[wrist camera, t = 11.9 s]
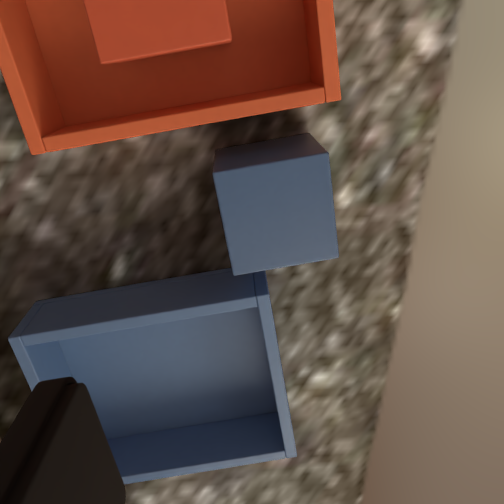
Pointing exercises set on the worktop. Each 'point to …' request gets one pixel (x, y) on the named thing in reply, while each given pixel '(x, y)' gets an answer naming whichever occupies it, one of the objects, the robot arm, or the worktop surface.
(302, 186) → the blue cubic block piece
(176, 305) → the blue bin
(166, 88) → the terracotta bin
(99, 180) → the worktop surface
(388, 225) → the worktop surface
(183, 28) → the terracotta block
